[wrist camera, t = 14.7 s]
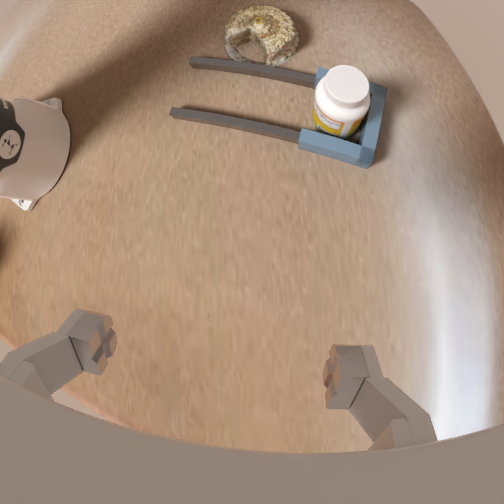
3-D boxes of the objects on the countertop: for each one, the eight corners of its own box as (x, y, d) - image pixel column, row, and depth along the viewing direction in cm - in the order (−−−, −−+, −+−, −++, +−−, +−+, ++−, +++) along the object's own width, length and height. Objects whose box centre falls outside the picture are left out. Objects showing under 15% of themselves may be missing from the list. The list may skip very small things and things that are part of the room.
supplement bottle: (351, 96, 31) (367, 56, 22) (362, 138, 32) (384, 107, 22) (307, 101, 32) (310, 60, 22) (317, 143, 32) (324, 113, 23)
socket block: (298, 148, 33) (298, 140, 30) (316, 78, 32) (318, 67, 29) (366, 168, 32) (372, 163, 29) (380, 97, 31) (386, 87, 28)
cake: (244, 11, 33) (239, -14, 27) (311, 29, 32) (314, 3, 26) (211, 58, 33) (201, 34, 28) (283, 79, 32) (283, 55, 27)
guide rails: (173, 118, 34) (169, 114, 33) (195, 61, 33) (191, 56, 32) (299, 144, 33) (299, 140, 31) (316, 81, 32) (316, 76, 30)
